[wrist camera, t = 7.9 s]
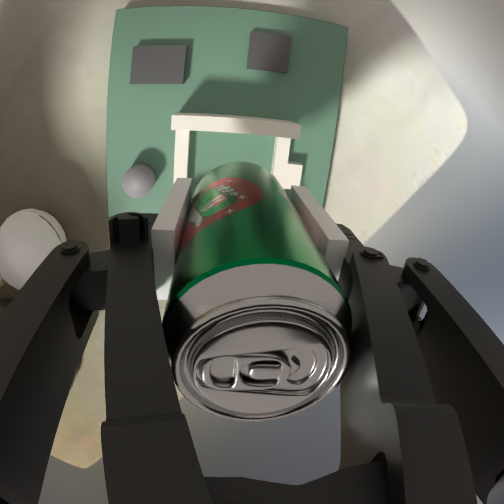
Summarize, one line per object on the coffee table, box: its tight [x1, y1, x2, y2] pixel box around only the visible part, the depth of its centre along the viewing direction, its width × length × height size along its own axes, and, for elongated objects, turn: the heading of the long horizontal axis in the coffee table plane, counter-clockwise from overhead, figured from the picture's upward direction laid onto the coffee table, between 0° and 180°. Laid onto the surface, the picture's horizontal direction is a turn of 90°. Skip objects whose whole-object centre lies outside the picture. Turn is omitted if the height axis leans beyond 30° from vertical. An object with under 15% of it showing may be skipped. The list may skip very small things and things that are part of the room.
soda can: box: [162, 162, 352, 421], centre depth 13 cm, size 5×5×12 cm
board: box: [106, 6, 348, 219], centre depth 22 cm, size 18×18×5 cm
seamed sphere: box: [0, 208, 67, 290], centre depth 24 cm, size 10×7×7 cm
